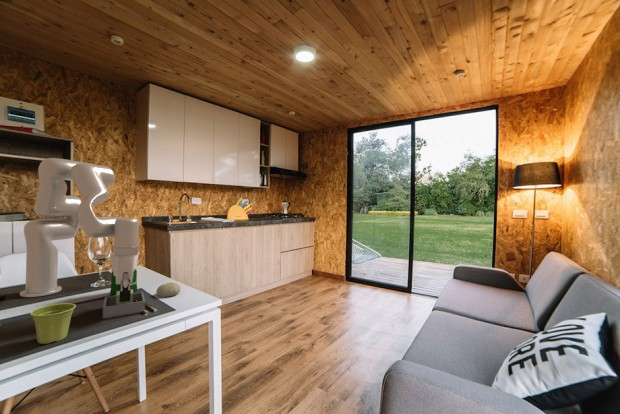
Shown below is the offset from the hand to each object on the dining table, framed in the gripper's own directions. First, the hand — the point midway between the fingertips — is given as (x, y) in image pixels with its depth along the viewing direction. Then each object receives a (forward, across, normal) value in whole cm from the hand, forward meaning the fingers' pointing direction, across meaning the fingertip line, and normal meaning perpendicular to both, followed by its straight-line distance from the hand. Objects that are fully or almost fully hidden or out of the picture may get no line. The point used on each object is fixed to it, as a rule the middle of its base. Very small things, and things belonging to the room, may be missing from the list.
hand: (124, 297), depth 99 cm
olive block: (+4, 0, 0) cm, 4 cm away
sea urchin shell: (+5, -11, +16) cm, 20 cm away
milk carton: (+5, -22, 0) cm, 23 cm away
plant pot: (+5, +15, -17) cm, 23 cm away
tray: (+5, 0, 0) cm, 5 cm away
